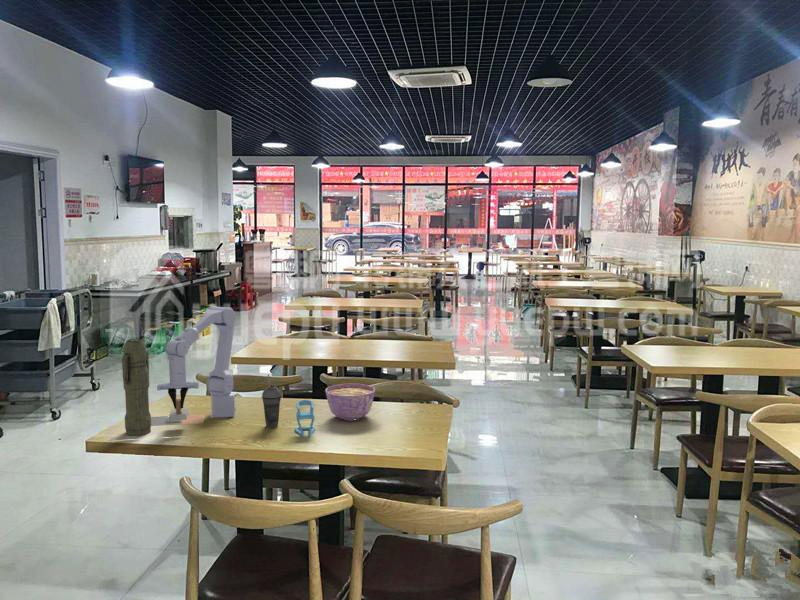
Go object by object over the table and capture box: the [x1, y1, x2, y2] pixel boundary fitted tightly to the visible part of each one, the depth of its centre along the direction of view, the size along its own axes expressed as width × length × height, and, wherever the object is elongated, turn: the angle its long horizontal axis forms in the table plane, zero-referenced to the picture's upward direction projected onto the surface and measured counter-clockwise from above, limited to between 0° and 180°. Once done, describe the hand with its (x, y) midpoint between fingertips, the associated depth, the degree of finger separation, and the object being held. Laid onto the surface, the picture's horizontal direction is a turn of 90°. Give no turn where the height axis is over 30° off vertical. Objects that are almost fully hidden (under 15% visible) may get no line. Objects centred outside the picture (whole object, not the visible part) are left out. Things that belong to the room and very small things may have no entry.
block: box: [167, 414, 181, 422], centre depth 255 cm, size 5×5×2 cm
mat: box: [151, 413, 206, 427], centre depth 255 cm, size 23×12×1 cm, turn 102°
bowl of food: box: [324, 383, 376, 421], centre depth 261 cm, size 20×20×12 cm
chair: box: [294, 399, 316, 438], centre depth 242 cm, size 8×8×12 cm
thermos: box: [121, 338, 152, 437], centre depth 238 cm, size 9×12×35 cm
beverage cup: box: [261, 374, 282, 429], centre depth 249 cm, size 7×7×20 cm
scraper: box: [168, 398, 190, 420], centre depth 244 cm, size 6×8×6 cm
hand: (178, 407), depth 244 cm, fingers closed on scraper
